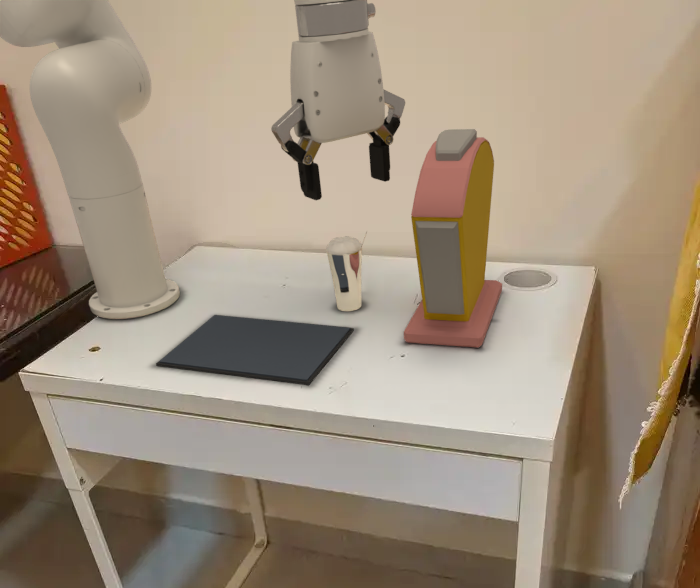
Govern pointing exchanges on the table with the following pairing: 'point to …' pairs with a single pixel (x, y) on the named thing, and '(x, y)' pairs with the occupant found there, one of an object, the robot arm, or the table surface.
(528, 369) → the table surface
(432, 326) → the clock
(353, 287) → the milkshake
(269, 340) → the mouse pad
